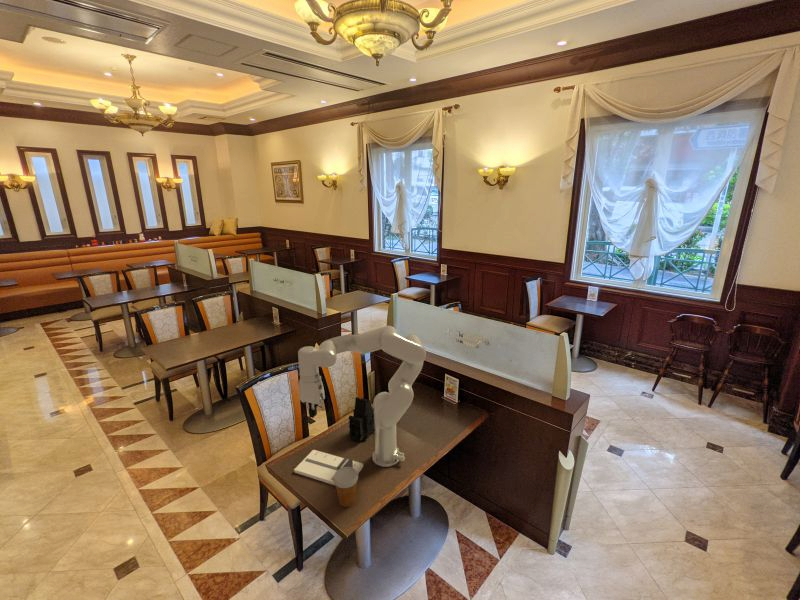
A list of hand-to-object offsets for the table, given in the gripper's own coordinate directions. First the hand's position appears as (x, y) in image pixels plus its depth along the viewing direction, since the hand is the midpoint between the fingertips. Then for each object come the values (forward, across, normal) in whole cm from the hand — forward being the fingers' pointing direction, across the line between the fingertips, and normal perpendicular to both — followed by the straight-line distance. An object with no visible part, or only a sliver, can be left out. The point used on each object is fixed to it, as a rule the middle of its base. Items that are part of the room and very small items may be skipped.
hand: (313, 415), depth 156 cm
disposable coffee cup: (+25, -22, +12) cm, 36 cm away
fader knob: (+23, -14, 0) cm, 27 cm away
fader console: (+25, -6, 0) cm, 26 cm away
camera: (+25, -8, -26) cm, 37 cm away
